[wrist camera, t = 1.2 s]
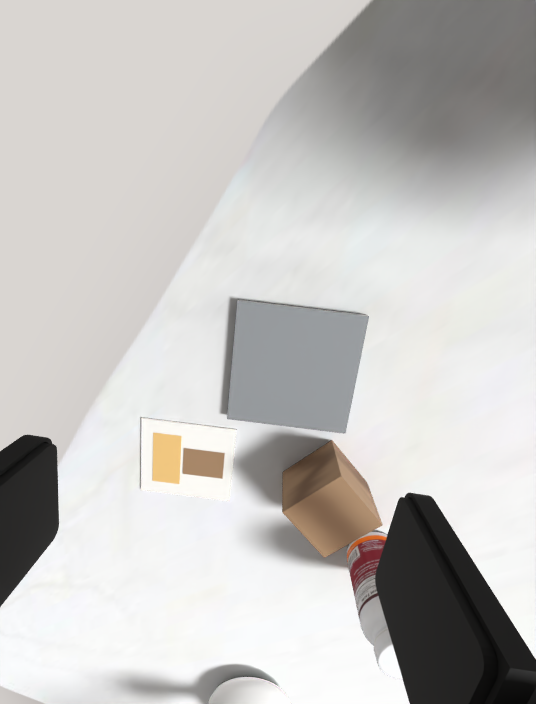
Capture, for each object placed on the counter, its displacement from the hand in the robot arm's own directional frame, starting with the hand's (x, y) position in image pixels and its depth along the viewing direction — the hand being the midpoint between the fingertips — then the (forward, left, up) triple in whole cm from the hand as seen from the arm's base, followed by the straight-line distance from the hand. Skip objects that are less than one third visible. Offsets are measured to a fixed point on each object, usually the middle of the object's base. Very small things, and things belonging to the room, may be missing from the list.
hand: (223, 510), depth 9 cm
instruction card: (+7, +16, -24) cm, 29 cm away
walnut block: (-8, +16, -24) cm, 30 cm away
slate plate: (-3, +4, -24) cm, 24 cm away
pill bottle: (-15, +25, -24) cm, 38 cm away
